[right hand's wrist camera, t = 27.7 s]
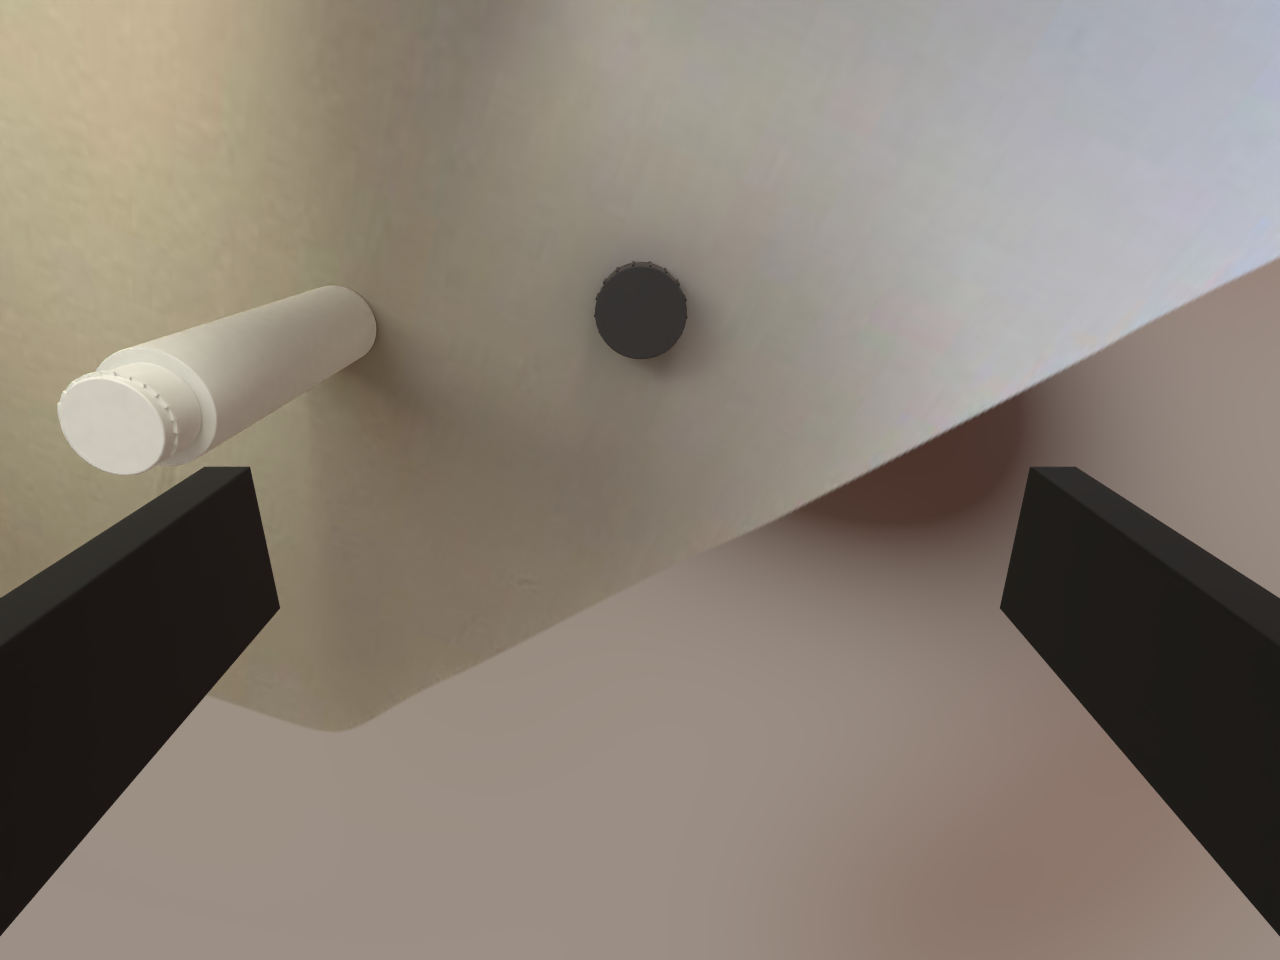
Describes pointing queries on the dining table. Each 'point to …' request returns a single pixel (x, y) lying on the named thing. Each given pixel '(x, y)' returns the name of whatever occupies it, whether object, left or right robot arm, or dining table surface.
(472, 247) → the dining table surface
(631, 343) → the lid
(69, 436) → the bottle
